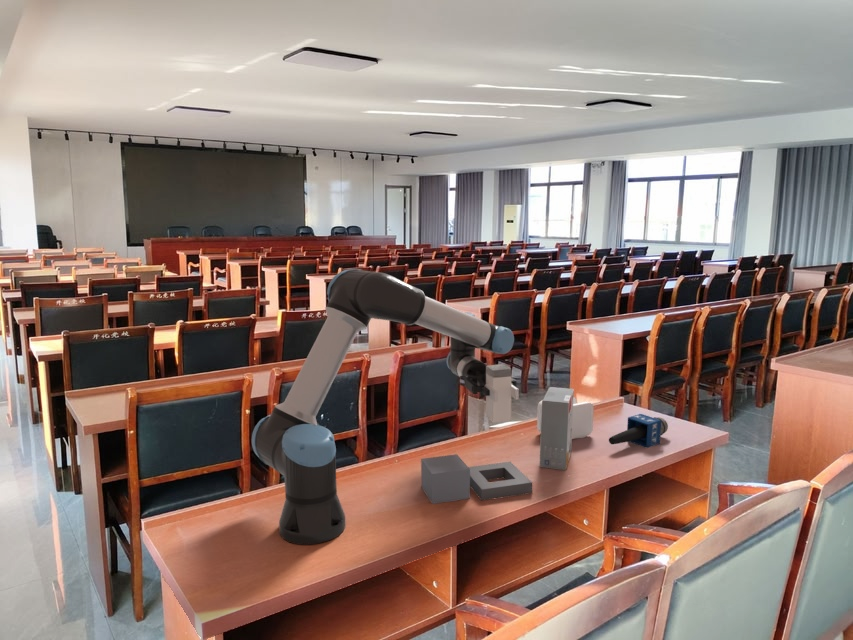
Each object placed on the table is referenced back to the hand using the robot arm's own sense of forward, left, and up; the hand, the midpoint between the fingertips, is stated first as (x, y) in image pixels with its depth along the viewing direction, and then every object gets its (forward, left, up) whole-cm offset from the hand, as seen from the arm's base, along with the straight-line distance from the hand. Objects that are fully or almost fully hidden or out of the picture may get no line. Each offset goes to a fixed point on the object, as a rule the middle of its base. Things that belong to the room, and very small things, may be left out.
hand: (506, 395), depth 154 cm
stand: (-15, +5, -26) cm, 31 cm away
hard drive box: (+23, +16, -27) cm, 39 cm away
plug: (0, +5, -8) cm, 10 cm away
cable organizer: (+35, +33, -27) cm, 55 cm away
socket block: (0, +5, -26) cm, 27 cm away
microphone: (+53, +19, -27) cm, 63 cm away
